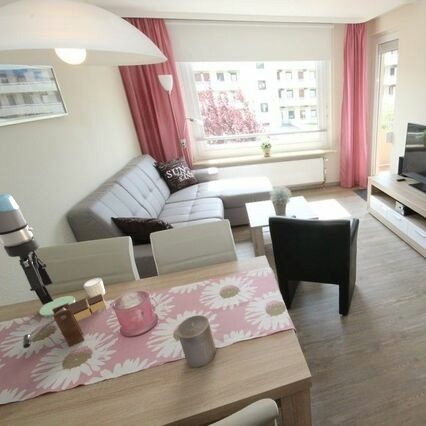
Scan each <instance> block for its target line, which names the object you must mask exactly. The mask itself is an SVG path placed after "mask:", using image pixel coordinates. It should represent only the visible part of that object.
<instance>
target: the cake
mask: <svg viewBox="0 0 426 426" xmlns="http://www.w3.org/2000/svg"><path fill="white" fill-rule="evenodd" d="M69 306H70V308H71V310H72V312H73V314H74V316H75V318H76V320H77V322H79V321H81V320H84V319H86V318H88V317H91V316H92V311H91V308H90V306H89V304H88V300H87V298H82V299H79V300H76V301H75V302H74V303H72V304H69Z"/></svg>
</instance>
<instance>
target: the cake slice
mask: <svg viewBox="0 0 426 426" xmlns="http://www.w3.org/2000/svg"><path fill="white" fill-rule="evenodd" d="M86 301H87V303H88V305H89V308H90V312H91V314H92V313H94V312H97V311H99V310H102V309H104V308H107V304H106V301H105V299H104V295H103V296H102V294H99V295H97V296H94V297H92V298H90V297H89V298H86Z"/></svg>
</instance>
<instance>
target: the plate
mask: <svg viewBox="0 0 426 426" xmlns="http://www.w3.org/2000/svg"><path fill="white" fill-rule="evenodd" d="M74 302H77V300H76V298H75V297H74V296H72V295H65V296H61V297H57V298H54V299H53V301H52V302H49V303H47V304H44V305H42V307H41V308H40V309H39V314H40V316H41V317H43V318H49V317H53V315H54V312H53V311H52V309H53V308H56V307H59V306H61V305H64V304H66V303H68V304H72V303H74Z"/></svg>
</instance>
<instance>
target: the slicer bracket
mask: <svg viewBox="0 0 426 426" xmlns="http://www.w3.org/2000/svg"><path fill="white" fill-rule="evenodd" d="M63 307H64V308H66V310H64V311H61V312H59V313H56V312H58V311H59V310H60V309H62V308H63ZM52 311H53V312H54V315H53V316H52V318H54V319H55V324H56V325H57V326H58V328H59V330H60V332H61V334H62V336H63V338H64V340H65V342H66V343H67V345H68V347H69V348H71V347H73V346H76V345H78V344H80V343H83V342H84V341H85V337H84V332H83V330H82V328H81V326H80V324H79V321H77V320H76V318H75V316H74V314H73V312H72V310H71V308H70V306H69V304H68V303H66V304H64V305H61V306H59V307H56V308H53V309H52Z"/></svg>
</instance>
